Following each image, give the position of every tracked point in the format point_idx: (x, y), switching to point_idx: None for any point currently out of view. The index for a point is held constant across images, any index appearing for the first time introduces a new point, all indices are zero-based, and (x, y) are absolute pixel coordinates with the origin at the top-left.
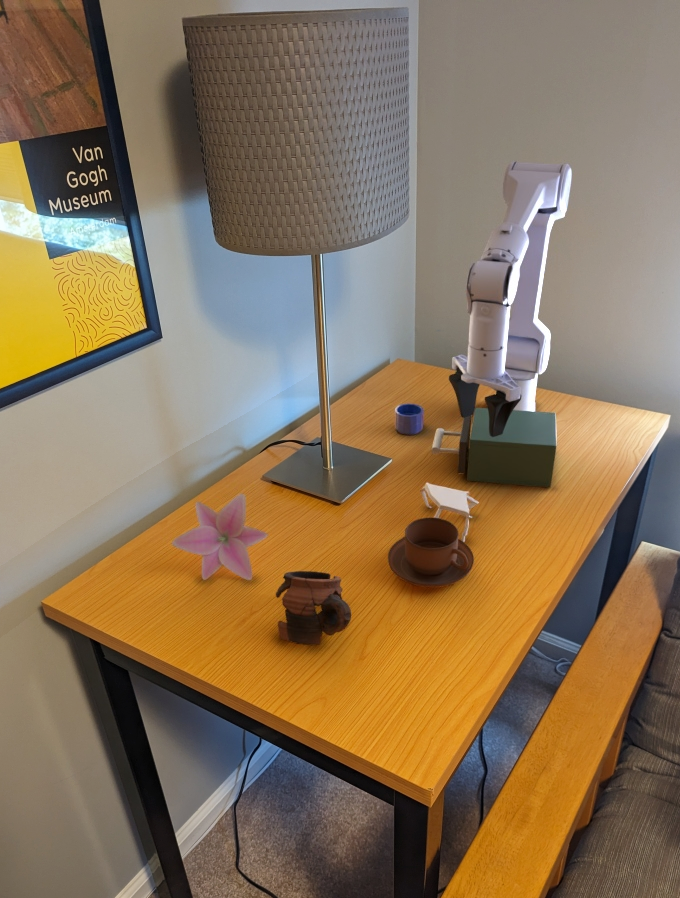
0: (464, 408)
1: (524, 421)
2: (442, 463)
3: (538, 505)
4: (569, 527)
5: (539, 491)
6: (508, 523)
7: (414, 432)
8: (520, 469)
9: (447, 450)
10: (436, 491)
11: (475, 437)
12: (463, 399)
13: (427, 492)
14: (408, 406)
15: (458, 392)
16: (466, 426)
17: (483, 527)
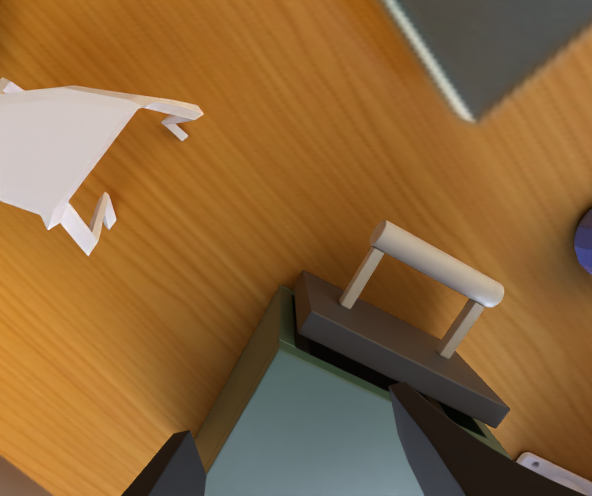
0: (408, 424)
1: None
2: (389, 256)
3: (122, 396)
4: (19, 419)
5: (180, 422)
6: (62, 302)
7: (576, 239)
8: (210, 425)
9: (360, 269)
10: (70, 115)
11: (286, 374)
12: (433, 463)
13: (98, 89)
14: None
15: (467, 481)
16: (412, 377)
17: (56, 237)
